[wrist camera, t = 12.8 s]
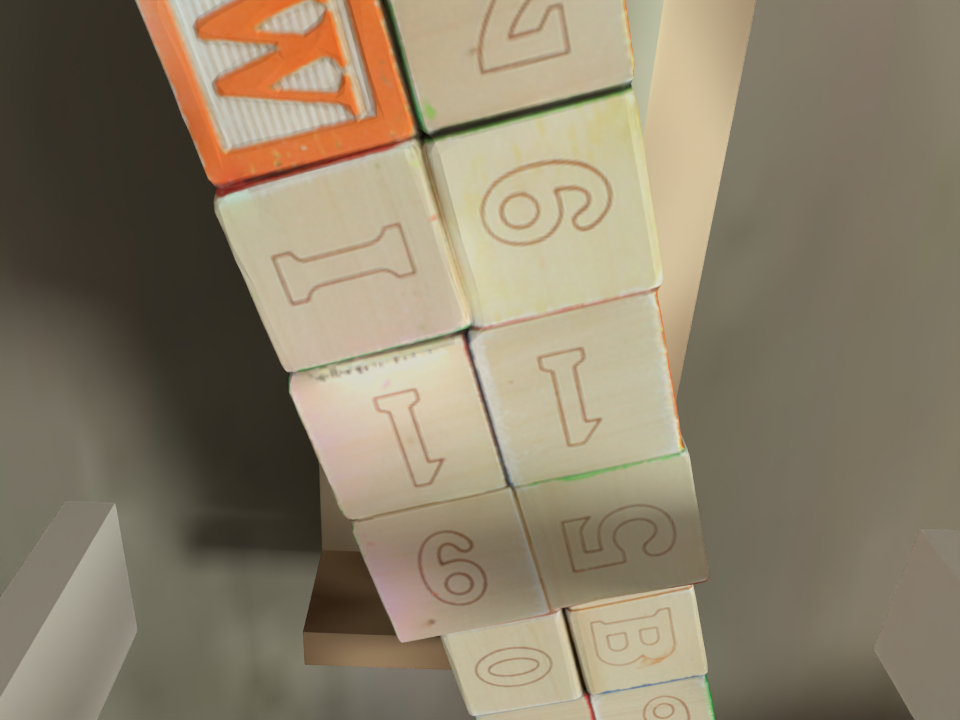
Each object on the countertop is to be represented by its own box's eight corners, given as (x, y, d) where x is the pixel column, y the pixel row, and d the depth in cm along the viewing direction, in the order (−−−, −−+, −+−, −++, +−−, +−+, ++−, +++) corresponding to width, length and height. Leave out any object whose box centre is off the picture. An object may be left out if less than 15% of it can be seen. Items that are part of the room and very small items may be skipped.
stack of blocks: (654, 530, 30) (757, 874, 19) (486, 562, 31) (495, 912, 20) (534, -134, 20) (608, -191, 10) (292, -67, 21) (104, -49, 10)
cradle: (329, 554, 33) (304, 664, 28) (304, -256, 21) (253, -308, 16) (630, 566, 33) (657, 677, 28) (781, -219, 21) (873, -260, 16)
